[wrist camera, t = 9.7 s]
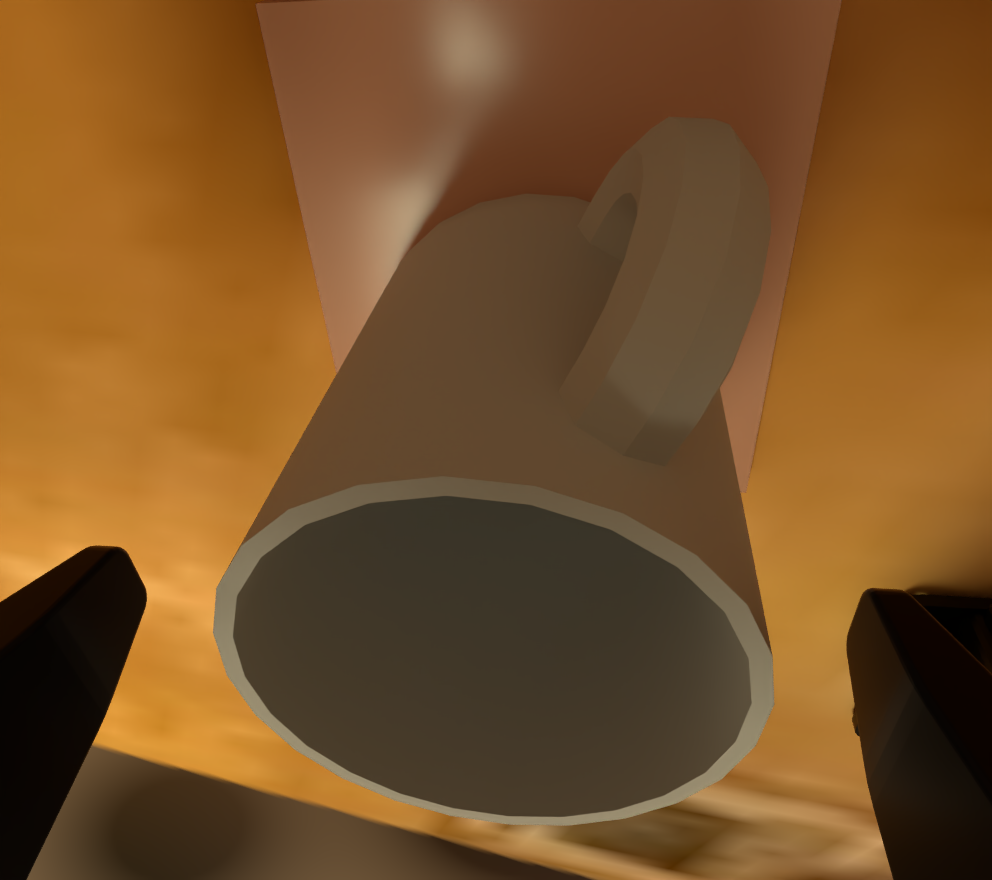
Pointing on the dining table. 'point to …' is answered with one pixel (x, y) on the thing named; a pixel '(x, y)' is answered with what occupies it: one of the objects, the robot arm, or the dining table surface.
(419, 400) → the cup
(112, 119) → the dining table surface
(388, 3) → the coaster pad
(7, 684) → the robot arm
